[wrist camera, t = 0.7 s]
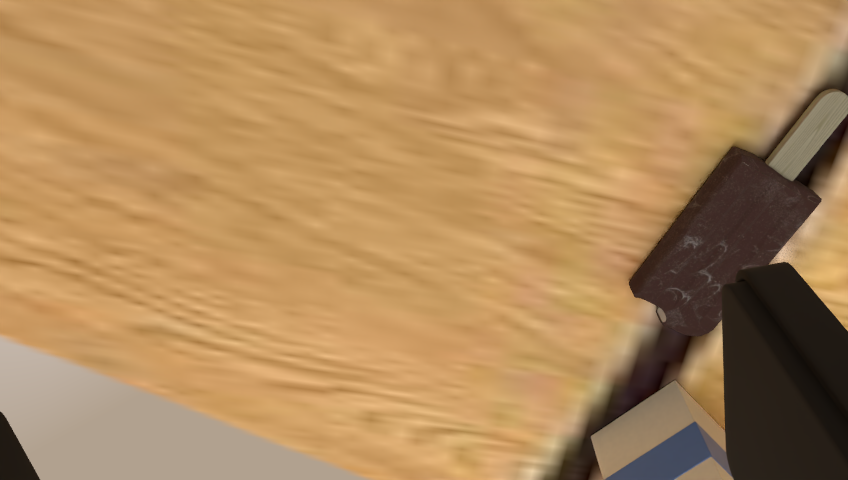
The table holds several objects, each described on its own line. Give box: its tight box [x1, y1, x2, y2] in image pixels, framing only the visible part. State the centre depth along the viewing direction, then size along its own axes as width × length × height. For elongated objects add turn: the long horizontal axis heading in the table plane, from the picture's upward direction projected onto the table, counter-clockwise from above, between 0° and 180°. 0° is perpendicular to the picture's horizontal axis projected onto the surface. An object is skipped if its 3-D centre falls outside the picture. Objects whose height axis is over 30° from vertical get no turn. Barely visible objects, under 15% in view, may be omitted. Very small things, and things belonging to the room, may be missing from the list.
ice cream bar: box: [629, 89, 848, 336], centre depth 43 cm, size 5×2×15 cm
